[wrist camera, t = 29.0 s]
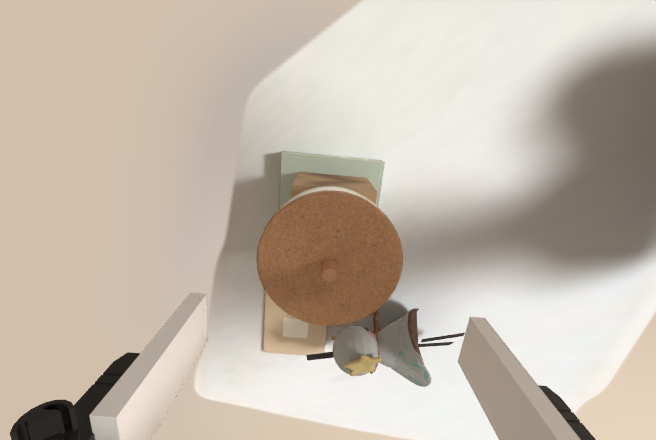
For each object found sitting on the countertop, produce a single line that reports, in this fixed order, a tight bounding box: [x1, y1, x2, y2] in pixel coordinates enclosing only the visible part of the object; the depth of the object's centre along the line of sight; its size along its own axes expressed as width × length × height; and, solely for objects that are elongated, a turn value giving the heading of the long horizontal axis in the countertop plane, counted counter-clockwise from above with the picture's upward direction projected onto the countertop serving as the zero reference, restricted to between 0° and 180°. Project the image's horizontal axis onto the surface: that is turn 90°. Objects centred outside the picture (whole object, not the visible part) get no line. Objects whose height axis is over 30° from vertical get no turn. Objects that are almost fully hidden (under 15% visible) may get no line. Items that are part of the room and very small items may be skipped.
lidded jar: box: [257, 186, 403, 326], centre depth 25 cm, size 11×11×9 cm
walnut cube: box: [291, 172, 377, 205], centre depth 34 cm, size 8×8×8 cm
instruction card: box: [264, 292, 327, 355], centre depth 44 cm, size 9×13×1 cm
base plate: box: [279, 151, 385, 209], centre depth 38 cm, size 12×12×2 cm
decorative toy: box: [307, 309, 465, 387], centre depth 39 cm, size 12×10×20 cm
